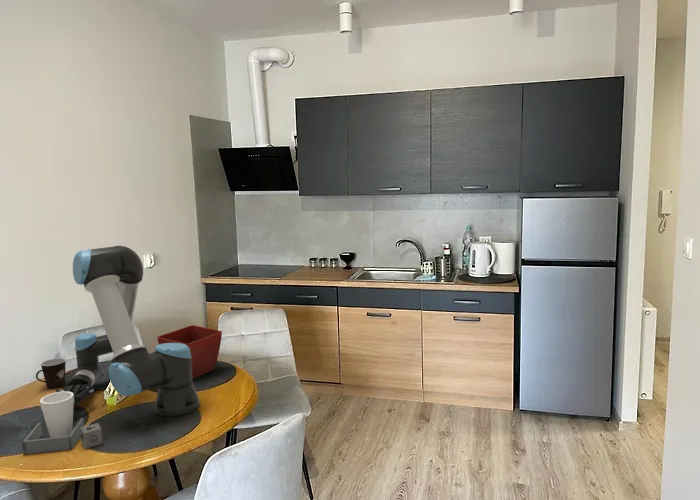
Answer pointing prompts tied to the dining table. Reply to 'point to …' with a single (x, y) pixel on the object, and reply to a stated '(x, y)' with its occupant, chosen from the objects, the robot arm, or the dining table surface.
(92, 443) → the grey cube
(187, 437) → the dining table surface
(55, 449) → the tray
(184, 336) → the plant pot
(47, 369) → the coffee mug
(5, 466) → the dining table surface
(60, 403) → the foam cup
